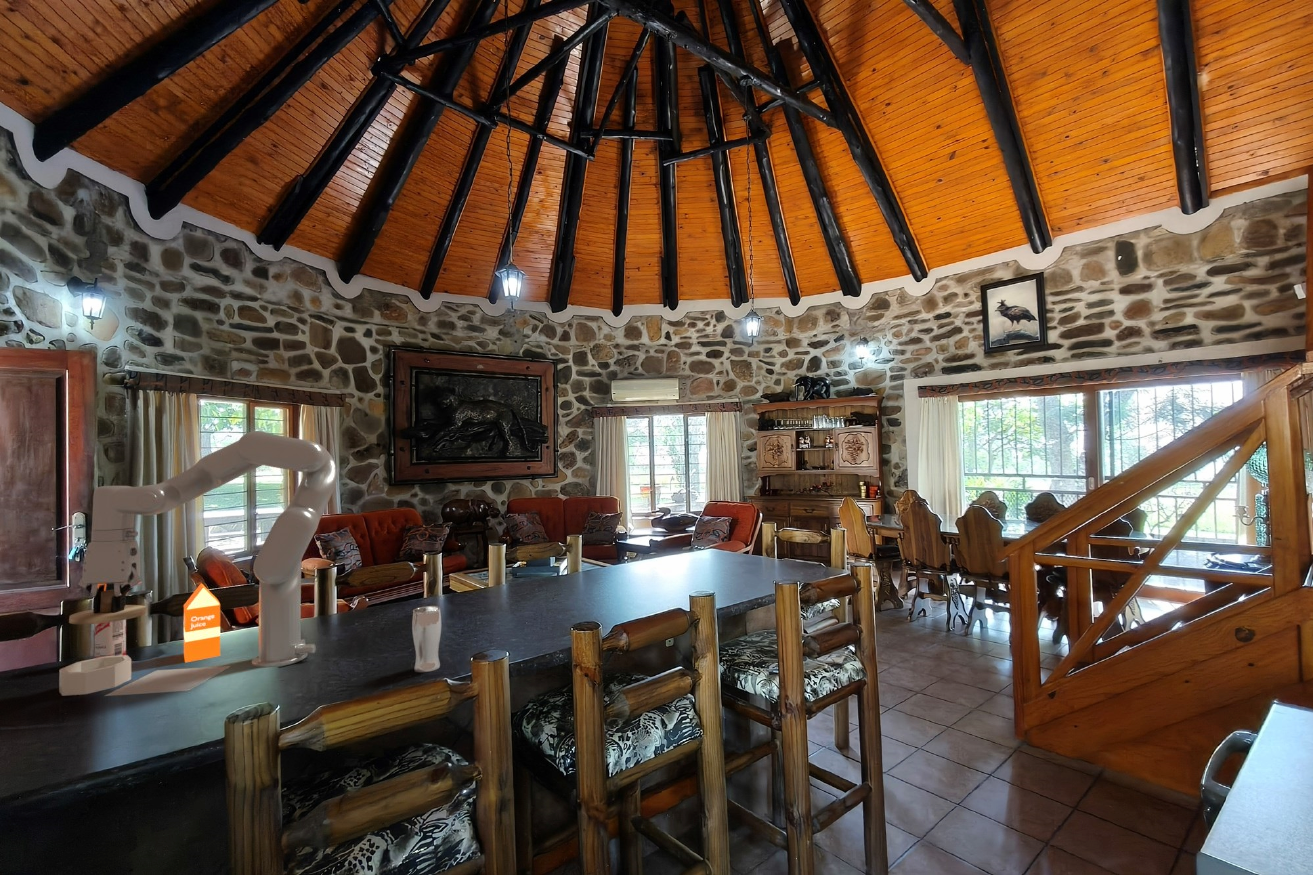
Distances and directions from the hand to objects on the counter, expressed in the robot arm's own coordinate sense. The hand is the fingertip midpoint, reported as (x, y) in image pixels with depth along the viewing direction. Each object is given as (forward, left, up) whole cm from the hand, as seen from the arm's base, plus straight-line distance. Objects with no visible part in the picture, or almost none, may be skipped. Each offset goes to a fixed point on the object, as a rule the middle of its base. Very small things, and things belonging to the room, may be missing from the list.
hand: (109, 611), depth 141 cm
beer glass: (-75, +1, -18) cm, 77 cm away
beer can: (+15, -20, -18) cm, 31 cm away
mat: (-14, 0, -18) cm, 23 cm away
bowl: (+3, 0, -18) cm, 18 cm away
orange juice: (-9, -19, -19) cm, 28 cm away
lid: (0, 0, -1) cm, 1 cm away
